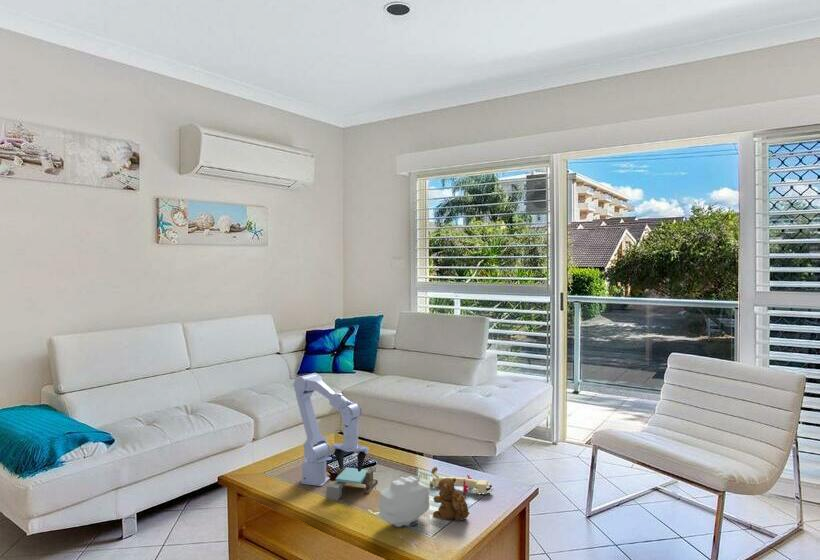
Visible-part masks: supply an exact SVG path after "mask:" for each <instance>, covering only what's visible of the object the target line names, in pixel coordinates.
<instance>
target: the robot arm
mask: <svg viewBox="0 0 820 560" xmlns="http://www.w3.org/2000/svg"><path fill="white" fill-rule="evenodd" d="M293 388H294V392H295V398H296V401H297V405H298V410H299V413H300V416H301V421H302V424H303V428H304V431H305V435H306V440H305V442H304V443H303V449H304V453H303V454H304V455H303V456H304V458H305V459H304V460H303V461H302V465H301V482H300V483H301V484H303V485H309V486H310V485H311V486H318V487H323V486H324V485H325V484H327V482H328V481H329V480H330V479H331V477H329V476H327V460H328V456H329V455H330V454H331V446H330V443H328V441H327V438H326V437H325V436H324V435H322V434H321V433H320V428H319V426H318V421H317V417H316V414H315V410H314V407H313V403H312V400H311V396H313V393H314V392H315V391H316V392H318V393H319V394H320V395H322V397H324V398H326V399H328V402H329V405H330V406H332V407H333V408H334V409H335V410H336V411H338V412H339V414H340V417H341V419H342V425H343V432H342V433H343V436H342V437H343V439H342V441H343V443H333V444H332V450H333V451H334V452H333V455H334V456H335V458H336V461H337V463H338V468H340V469H342V468H343V466H345V464H344V455H345V452H354V453H358V454H357V455H356V457H357V459H356V460H357V469H358V472H360V471H361V470H362V469H363V463H364V461H365V458H366V456H367V455H368V454H369V453H370V447H369V446H365V445H360V444H359V418H360V416H361V414H362V408H361V405H360V404H359V403H358V402H353V401H350V400H349V399H348V398H346V397H345V396H344V394H343V393H342V392H335V391H333V389H331V388H330V387H329V386H328V385H327V383H325V382H324V380H323V377H322V376H321V375H320V374H319V373H317V372H313V373H309V374H305V375H301V376H300V375H299V376H297V377H296V378H295V379H294V382H293Z"/></svg>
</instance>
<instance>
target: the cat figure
mask: <svg viewBox="0 0 820 560" xmlns="http://www.w3.org/2000/svg"><path fill="white" fill-rule="evenodd" d="M438 471H439V470H438V467H437V466H434V467H433V468H432V470H431V471H430V472H431V474H432V479H430V480H429V487H430V488H433V487H434V486H435V487H436V488H437V486H438V483H439V481H440V480H442V479H444V478H450V479H453V478H456V481H455V483H454V487H462V492H463V493H462V494H464V495H466V494H467V493H468V489H470V490H473V492H476V495H477V494H479V493H484V494H485V493H487V491H489V490H493V491H494V489H491V488H493V486H492V484H491V483H489V481H488V480H487V479H478V480H477V479H474V478H472V477H470V475H469V474H467V475H466V477H460V476H459V477H457V476H440V474H439V475H438V473H437V472H438ZM493 491H491V492H492V493H493ZM465 493H466V494H465ZM479 495H480V494H479ZM485 495H486V494H485Z"/></svg>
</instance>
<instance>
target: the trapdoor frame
mask: <svg viewBox="0 0 820 560" xmlns="http://www.w3.org/2000/svg"><path fill="white" fill-rule="evenodd" d="M345 468H346V467H345V465H343V468H342V469H340V468H339V467H338V468H337V470H336V471H337V472H336V478H337V477H338V476H339V475H340V474H341V472H342V471H343V470H344V469H345ZM367 470H368V471H367V472H366V484H365V488H364V494H370V493H371V491H372V490H373V489H374V488H375V487H376V485H377V484H378V479H375V478H374V469H372V468H369V469H367ZM336 482H338V481H336ZM339 483H342V488H343V487H344V486H345V485H346V484H347V483H346V482H339Z"/></svg>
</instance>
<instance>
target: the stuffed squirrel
mask: <svg viewBox="0 0 820 560" xmlns="http://www.w3.org/2000/svg"><path fill="white" fill-rule="evenodd" d="M455 481H456V478H453V479H450V478H444V479H442V480H440V481H439V483H438V486H437V487H436V489H435V491H438V490H439V492H438V494H439V495H435V496H434V497H433V502H434V503H437V504H438V503H439V504H440V506H439V507H438V509H437V510H435V511H434V512H433V513H432V515H433V517H435V518H438V519H440V520H451V519H454V520H455V519H456V521H458V520H461V521H463V520H464V518H465V519H467V518H468V517H469V514H470V511H469V506H468V504H467V501H466V498H465V497H464V495H463V494H464V493H462V492H456V490H455V486H454V483H455Z"/></svg>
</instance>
